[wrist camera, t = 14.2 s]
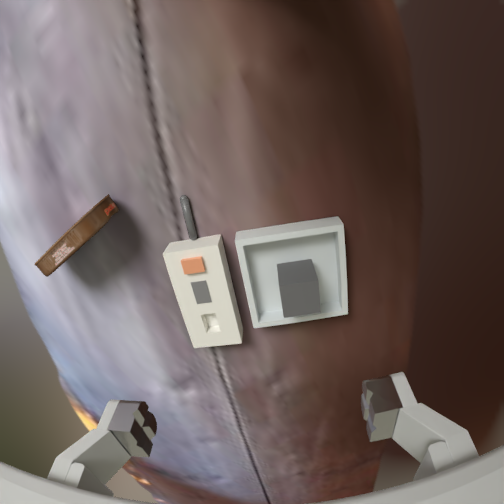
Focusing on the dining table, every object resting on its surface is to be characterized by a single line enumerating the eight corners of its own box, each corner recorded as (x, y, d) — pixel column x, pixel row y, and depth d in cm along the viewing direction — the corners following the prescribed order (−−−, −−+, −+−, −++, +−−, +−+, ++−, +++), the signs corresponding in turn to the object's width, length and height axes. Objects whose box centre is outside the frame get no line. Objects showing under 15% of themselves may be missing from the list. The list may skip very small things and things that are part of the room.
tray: (236, 231, 41) (234, 240, 39) (338, 216, 40) (343, 224, 37) (254, 315, 46) (253, 328, 44) (343, 302, 45) (347, 314, 43)
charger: (276, 259, 42) (278, 286, 36) (310, 254, 42) (318, 280, 35) (280, 288, 44) (283, 318, 38) (312, 283, 43) (321, 312, 37)
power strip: (158, 199, 40) (147, 208, 36) (211, 188, 39) (205, 197, 35) (197, 333, 48) (193, 350, 44) (243, 328, 47) (241, 346, 44)
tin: (117, 186, 39) (87, 205, 32) (131, 205, 40) (104, 227, 33) (53, 244, 43) (23, 269, 35) (65, 260, 44) (37, 287, 36)
